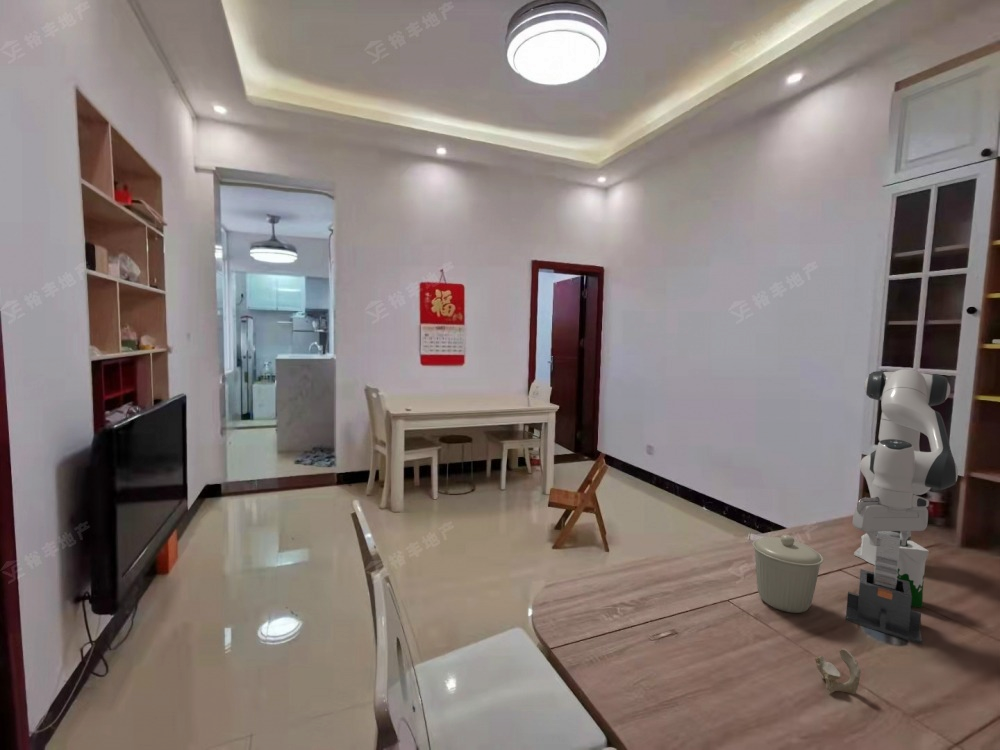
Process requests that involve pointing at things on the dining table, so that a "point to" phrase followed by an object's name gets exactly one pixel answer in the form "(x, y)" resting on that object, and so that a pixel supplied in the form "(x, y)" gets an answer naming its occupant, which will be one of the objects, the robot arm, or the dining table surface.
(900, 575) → the milk carton
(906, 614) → the stand
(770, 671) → the dining table surface
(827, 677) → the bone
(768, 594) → the canister
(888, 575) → the column
